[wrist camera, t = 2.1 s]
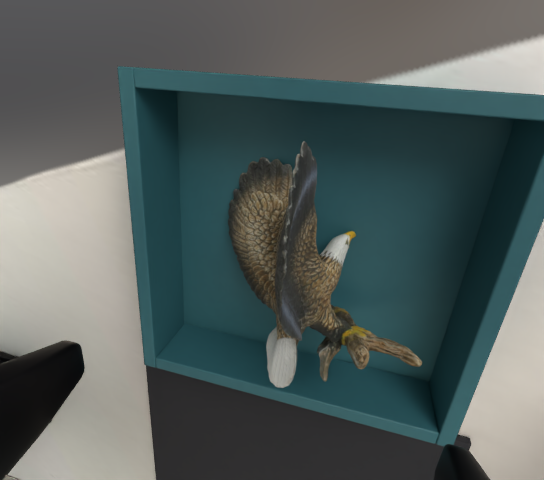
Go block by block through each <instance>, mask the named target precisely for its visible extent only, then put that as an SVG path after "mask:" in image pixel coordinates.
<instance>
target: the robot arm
mask: <svg viewBox="0 0 544 480" xmlns="http://www.w3.org/2000/svg"><path fill="white" fill-rule="evenodd" d="M83 373H84V361H83V355H82V350H81V346H80V345H79V344H78V343H74V342H71V341H61V342H58V343H55V344H53V345H50V346H47V347H45V348H42V349H39V350H36V351H34V352H31V353H28V354H26V355H23V356H20V357H15V356H12V355H8V354H5V353H2V352H0V480H3V479H4V478H5V477H6V475H7V474H8V473H9V472H10V471H11V469H12V468H13V467H14V466H15V465H16V463H17V462H18V461H19V460H20V459H21V457H22V456H23V455H24V454H25V453H26V451H27V450H28V449H29V448H30V447H31V445H32V444H33V443H34V442H35V441H36V439H37V438H38V437H39V436H40V434H41V433H42V432H43V431H44V429H45V428H46V427H47V425H48V424H49V423H50V422H51V421H52V418H53V417H54V416H55V414H56V413H57V411H58V410H59V408H60V407H61V406H62V404H63V403H64V401H65V400H66V399H67V397H68V396H69V394H70V393H71V391H72V390H73V389H74V387H75V386H76V384H77V383H78V382H79V380H80V379H81V377H82V375H83ZM434 480H490V479H489V477H488V476H487V474H486V473H485V472H484V470H483V469H482V468H481V466H480V465H479V463H478V462H477V461H476V459H475V458H474V457H473V455H472V454H471V453H470V452H469V451H468V450H467V449H465V448H462V447H459V446H455V445H451V444H447V445H445V446H444V448H443V451H442V453H441V456H440V458H439V461H438V464H437V466H436V469H435V475H434Z"/></svg>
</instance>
